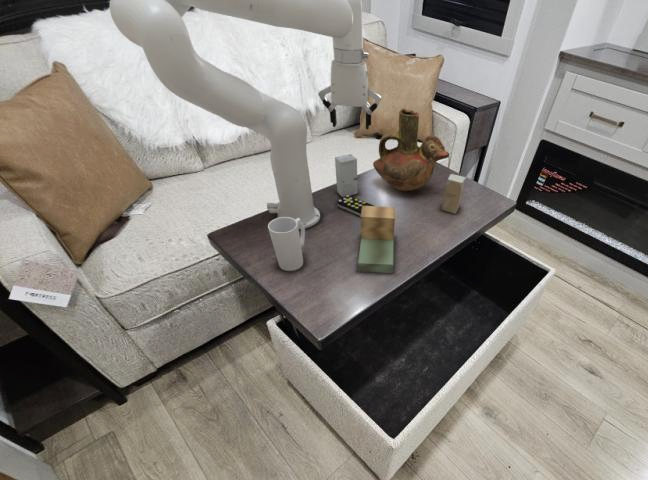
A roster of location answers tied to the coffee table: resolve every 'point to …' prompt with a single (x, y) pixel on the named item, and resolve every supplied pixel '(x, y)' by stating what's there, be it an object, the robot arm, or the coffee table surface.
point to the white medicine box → (346, 175)
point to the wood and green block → (377, 239)
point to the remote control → (352, 204)
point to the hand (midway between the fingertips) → (351, 126)
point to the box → (453, 193)
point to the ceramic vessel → (408, 155)
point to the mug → (287, 242)
